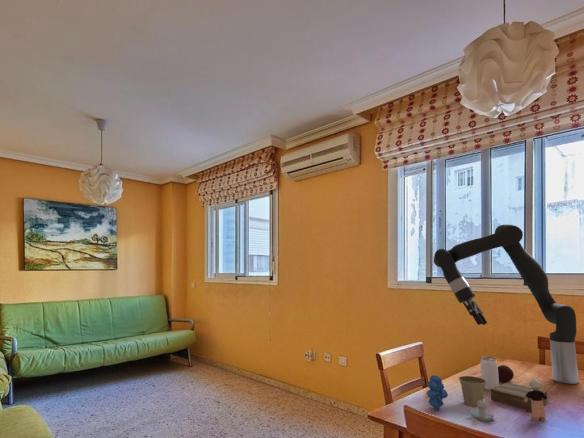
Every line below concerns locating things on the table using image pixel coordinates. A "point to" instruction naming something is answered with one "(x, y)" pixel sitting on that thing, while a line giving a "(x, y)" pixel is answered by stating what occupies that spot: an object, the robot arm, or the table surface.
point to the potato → (505, 373)
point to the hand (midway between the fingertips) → (483, 324)
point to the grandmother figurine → (536, 400)
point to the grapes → (436, 392)
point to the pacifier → (482, 412)
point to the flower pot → (472, 389)
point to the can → (489, 372)
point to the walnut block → (513, 395)
